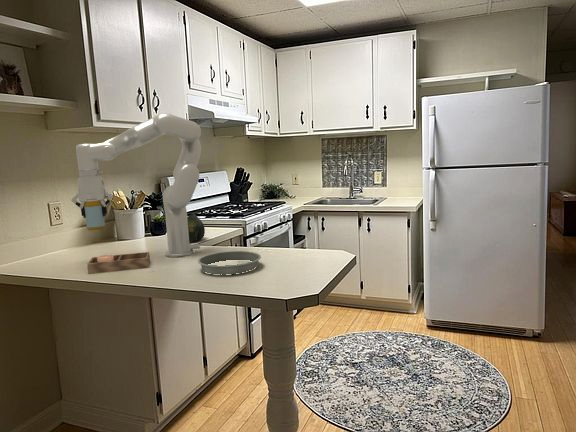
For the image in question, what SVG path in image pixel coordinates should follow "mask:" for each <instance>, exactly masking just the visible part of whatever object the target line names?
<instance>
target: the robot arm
mask: <svg viewBox="0 0 576 432" xmlns="http://www.w3.org/2000/svg"><path fill="white" fill-rule="evenodd" d="M164 135H169V136H172V137H176V138H178V139H179V141H180V143H181V151H180V155H179V157H178V159H177V162H176V165H175V167H174V169H173V172H172V176H173V179H174V182H173V183H172V184H171V185H169V186H166V188H165V189H164V190H163V193H162V202H163V207H164V215H165V226H166V237H167V248H168V249H167V251H165V256H166V257H169V258H170V257H171V258H176V257H177V258H178V257H187V256H190V255H192V254H194V250H198V249H200V248H201V246H200V245H201V244H196V243H195V244H191V242H189V233H188V221H187V216H188V212H187V206H188V205H189V204H190V202H191V200H192V197H193V196H194V193H195V190H196V189H197V185H198V182H199V180H200V170H199V168H198V164H199V161H200V157H201V153H202V145H201V141H200V137H201V135H202V129H201V127H200V125H199V124H198V123H197V122H195V121H193V120H190V119H185V118H183V117H180V116H177V115H174V114H171V113H167V112H163V113H160V114H158V115H155V116H153V117H151V118H149V119H147V120H145V121H143V122H140V123H138V124H136V125H134V126H131V127H130V128H129V129H127V130H124V131H123V132H121V133H120V134H118V135H116V136H114V137H111V138H110V139H107V140H106V141H103V142H99V143H79V144H76V146H75V152H76V153H75V154H76V159H77V161H76V162H77V167H78V175H79V178H78V177H77V194H76V195H74V196H73V197H72V199H71V202H73V204H75V205H76V206H77V207H78V208H79V209H80V211H81V216H82V217H83V218H82V219H86V216H85V209H84V204H85V202H86V194H96V197H97V200H98V201H100V202H101V204H102V206H103V207H102V212H103V216H104V217H106V216H107V214H108V210H107V206H108V205H109V204H110V202H111V201H112V199H113V198H114V196H113V195H112V194H111V193H109V192H108V191H106V188H105V183H104V179H103V177H102V176H100V175H101V174H104V172H103V171H104V170H101V169H99V161H112V160H113V159H115V158H116V157H118V156H119V155H121V154H123V153H125V152H128V151H129V150H130V151H131V150H133V149H137V148H141V146H144V145H146V144H148V143H151V142H152V141H155V140H156V139H159V138H160V137H163V136H164Z"/></svg>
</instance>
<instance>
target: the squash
mask: <svg viewBox="0 0 576 432" xmlns="http://www.w3.org/2000/svg"><path fill="white" fill-rule="evenodd" d="M187 221H188V233H189V242H190V243H193V242H195V241H200V240H202V239H203V238H204V237H205V234H206V231H205V230H206V229H205V226H204V223H203V221H202V220H201V219H200V218H199V217H198V216H197V214H195V213H192V214H189V215H187Z"/></svg>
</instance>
